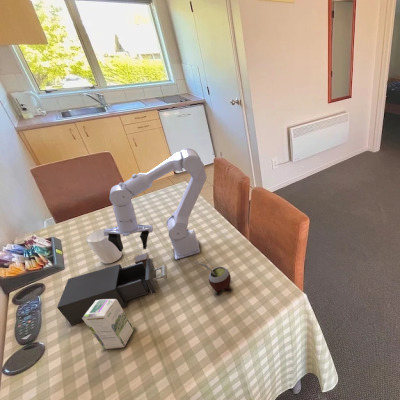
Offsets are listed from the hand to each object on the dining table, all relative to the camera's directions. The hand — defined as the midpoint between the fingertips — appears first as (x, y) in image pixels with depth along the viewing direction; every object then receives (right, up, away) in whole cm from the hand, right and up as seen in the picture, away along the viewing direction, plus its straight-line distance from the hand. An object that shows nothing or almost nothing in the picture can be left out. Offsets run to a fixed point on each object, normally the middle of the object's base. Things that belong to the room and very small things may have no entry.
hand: (133, 248), depth 100 cm
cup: (-15, -6, +9) cm, 18 cm away
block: (+1, -7, +5) cm, 9 cm away
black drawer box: (-4, -16, -10) cm, 19 cm away
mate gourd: (+36, -13, -6) cm, 39 cm away
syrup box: (+11, -23, -22) cm, 34 cm away
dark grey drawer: (+7, -12, -6) cm, 15 cm away
